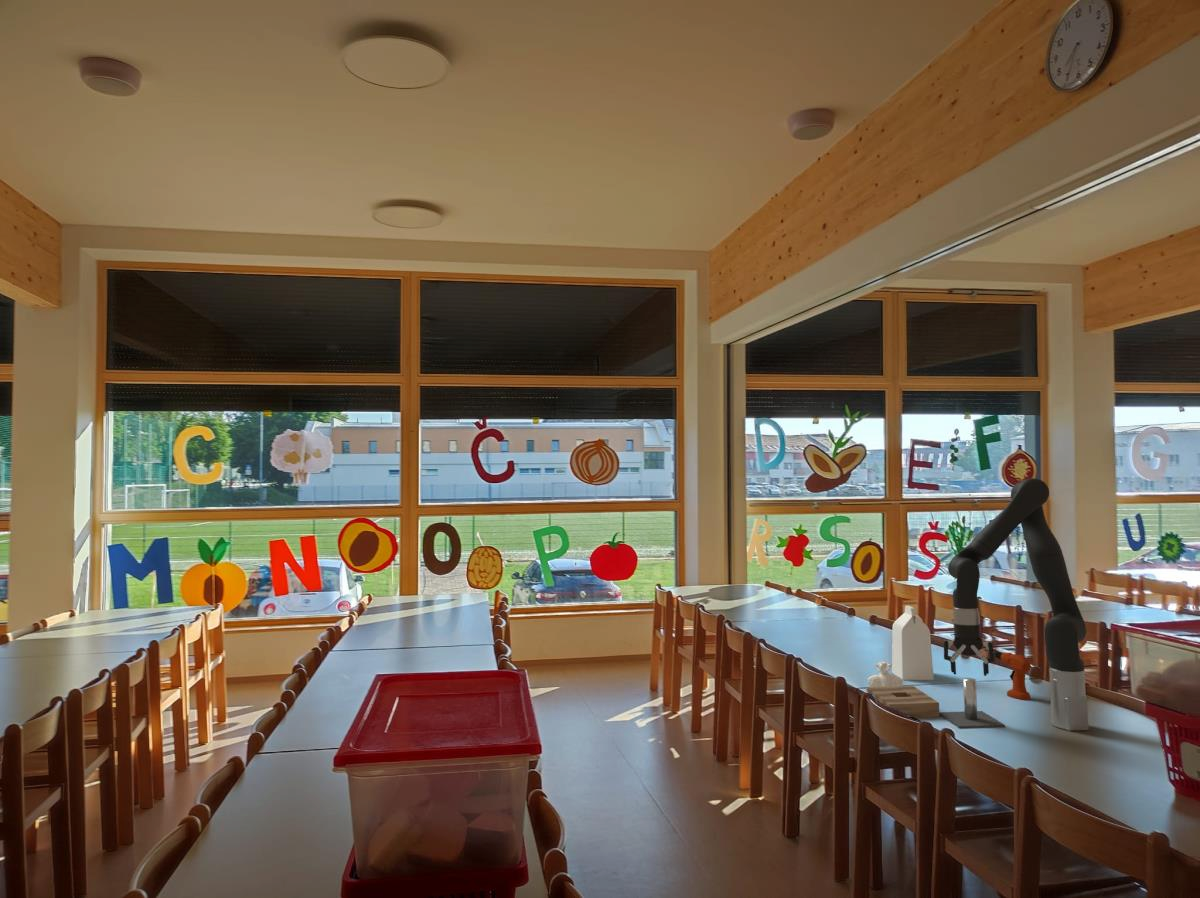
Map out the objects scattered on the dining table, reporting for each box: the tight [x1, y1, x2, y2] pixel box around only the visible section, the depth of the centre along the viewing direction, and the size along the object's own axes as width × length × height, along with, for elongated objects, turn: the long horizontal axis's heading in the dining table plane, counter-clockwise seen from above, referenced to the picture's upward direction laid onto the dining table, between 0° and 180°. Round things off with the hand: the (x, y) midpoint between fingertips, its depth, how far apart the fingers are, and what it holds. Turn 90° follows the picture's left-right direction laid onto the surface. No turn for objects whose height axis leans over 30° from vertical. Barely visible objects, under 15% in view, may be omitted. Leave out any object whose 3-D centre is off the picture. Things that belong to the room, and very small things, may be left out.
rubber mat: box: [939, 710, 1006, 729], centre depth 245 cm, size 14×14×1 cm
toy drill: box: [983, 648, 1032, 701], centre depth 273 cm, size 5×19×15 cm, turn 22°
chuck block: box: [866, 685, 941, 719], centre depth 259 cm, size 20×16×4 cm
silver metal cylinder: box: [962, 677, 978, 720], centre depth 245 cm, size 4×4×12 cm
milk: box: [891, 605, 935, 681], centre depth 300 cm, size 12×12×26 cm
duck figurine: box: [867, 660, 904, 687], centre depth 280 cm, size 12×8×11 cm
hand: (969, 674), depth 245 cm, fingers open, 8 cm apart
